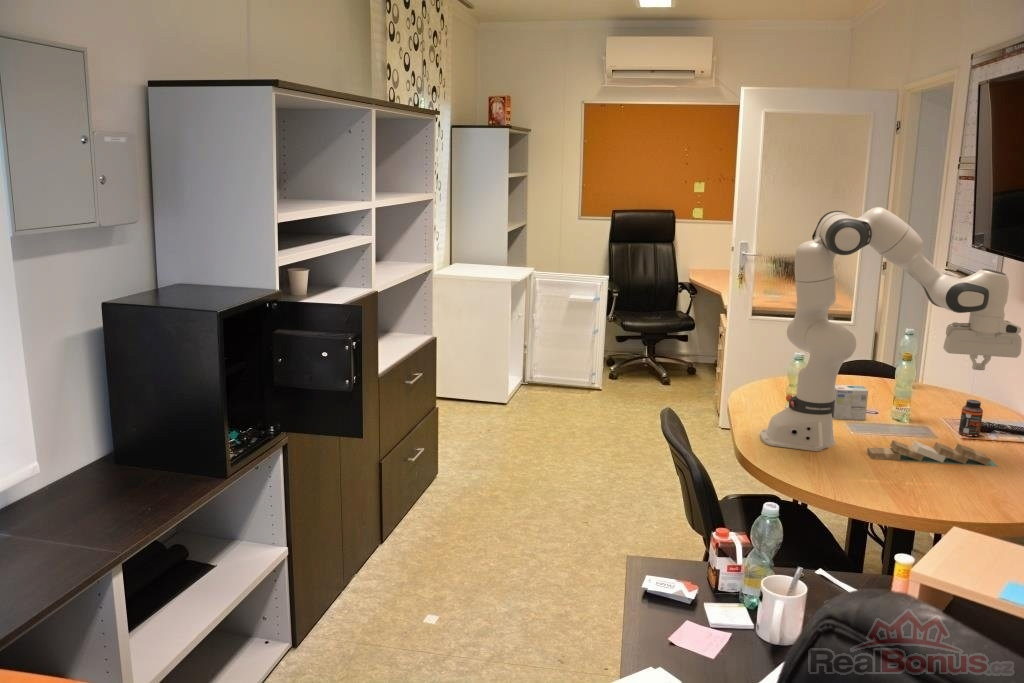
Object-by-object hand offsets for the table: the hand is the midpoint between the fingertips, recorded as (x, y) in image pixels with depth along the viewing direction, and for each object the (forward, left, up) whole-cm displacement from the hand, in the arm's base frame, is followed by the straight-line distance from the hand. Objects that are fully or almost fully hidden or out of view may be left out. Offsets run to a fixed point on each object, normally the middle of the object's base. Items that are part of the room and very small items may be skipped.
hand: (978, 369), depth 241 cm
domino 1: (-23, -10, -25) cm, 35 cm away
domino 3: (-11, -10, -25) cm, 28 cm away
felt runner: (-9, -10, -26) cm, 29 cm away
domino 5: (+2, -10, -25) cm, 27 cm away
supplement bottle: (+7, +17, -26) cm, 32 cm away
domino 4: (-4, -10, -25) cm, 27 cm away
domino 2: (-17, -10, -25) cm, 31 cm away
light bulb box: (-28, +29, -26) cm, 48 cm away
